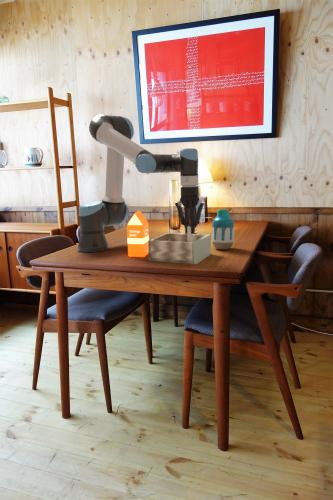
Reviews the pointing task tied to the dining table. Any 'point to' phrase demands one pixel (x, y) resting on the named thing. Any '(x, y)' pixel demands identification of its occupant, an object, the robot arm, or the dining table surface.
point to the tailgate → (201, 248)
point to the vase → (223, 230)
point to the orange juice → (137, 236)
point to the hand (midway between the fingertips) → (190, 241)
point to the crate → (172, 248)
